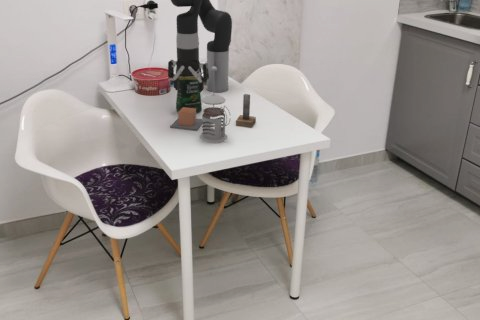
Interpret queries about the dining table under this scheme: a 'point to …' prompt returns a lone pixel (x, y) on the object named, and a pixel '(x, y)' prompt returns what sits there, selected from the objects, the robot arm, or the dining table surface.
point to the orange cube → (187, 116)
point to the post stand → (246, 114)
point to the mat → (194, 127)
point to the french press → (219, 132)
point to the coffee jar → (188, 92)
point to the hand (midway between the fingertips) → (188, 90)
